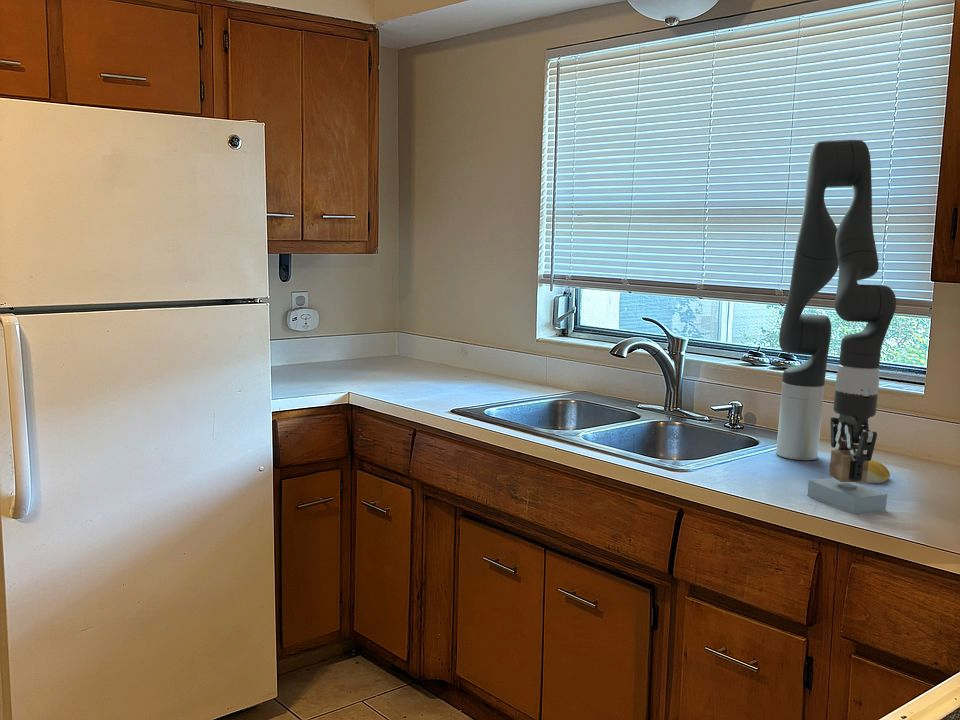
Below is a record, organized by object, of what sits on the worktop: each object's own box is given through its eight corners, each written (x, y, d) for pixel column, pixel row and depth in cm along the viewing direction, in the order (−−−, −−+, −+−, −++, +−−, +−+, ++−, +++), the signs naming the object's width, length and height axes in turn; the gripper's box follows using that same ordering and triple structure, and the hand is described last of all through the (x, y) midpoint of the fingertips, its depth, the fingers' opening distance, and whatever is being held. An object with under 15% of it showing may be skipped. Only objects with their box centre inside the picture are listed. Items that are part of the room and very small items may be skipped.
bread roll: (892, 478, 193) (893, 460, 192) (882, 487, 186) (884, 468, 185) (851, 471, 198) (853, 453, 197) (841, 479, 190) (843, 461, 190)
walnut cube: (828, 474, 174) (831, 449, 174) (853, 475, 175) (856, 450, 174) (841, 481, 169) (843, 456, 169) (866, 482, 170) (869, 456, 169)
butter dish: (807, 497, 177) (808, 478, 176) (838, 494, 180) (840, 475, 179) (852, 515, 166) (854, 496, 165) (885, 512, 169) (887, 492, 168)
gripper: (820, 382, 176) (812, 466, 179) (856, 396, 162) (847, 486, 165) (857, 383, 177) (848, 467, 179) (895, 397, 163) (886, 487, 165)
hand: (848, 475), depth 172 cm, fingers closed on walnut cube, 5 cm apart
